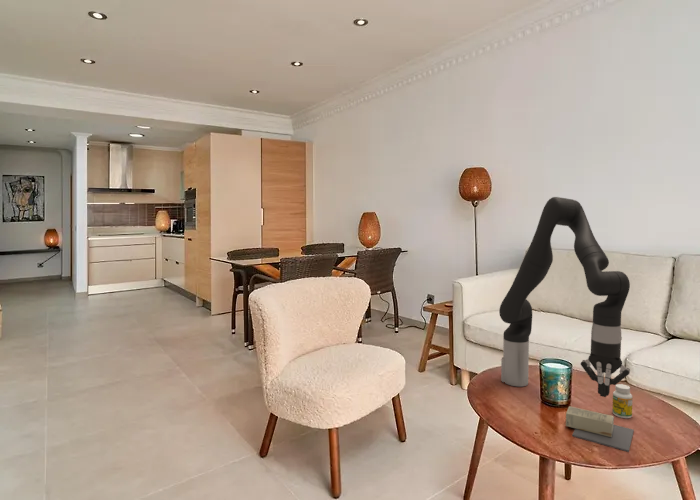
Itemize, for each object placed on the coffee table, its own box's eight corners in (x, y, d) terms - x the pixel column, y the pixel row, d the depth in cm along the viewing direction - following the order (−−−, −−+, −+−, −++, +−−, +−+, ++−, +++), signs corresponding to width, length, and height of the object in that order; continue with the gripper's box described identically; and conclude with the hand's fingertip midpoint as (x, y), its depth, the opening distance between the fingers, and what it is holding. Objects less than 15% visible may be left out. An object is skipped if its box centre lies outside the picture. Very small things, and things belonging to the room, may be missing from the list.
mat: (572, 436, 124) (572, 434, 124) (581, 417, 135) (581, 416, 135) (628, 452, 115) (628, 450, 115) (633, 431, 126) (633, 429, 126)
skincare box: (564, 426, 129) (611, 438, 121) (565, 412, 128) (612, 424, 121) (568, 418, 134) (613, 429, 126) (569, 405, 133) (614, 415, 126)
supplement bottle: (635, 416, 135) (636, 387, 134) (625, 420, 133) (626, 391, 132) (618, 409, 140) (619, 381, 139) (608, 413, 138) (609, 385, 137)
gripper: (578, 337, 124) (576, 394, 125) (631, 346, 116) (628, 406, 117) (583, 332, 130) (581, 386, 131) (634, 339, 121) (631, 397, 123)
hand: (603, 395), depth 124 cm, fingers closed
